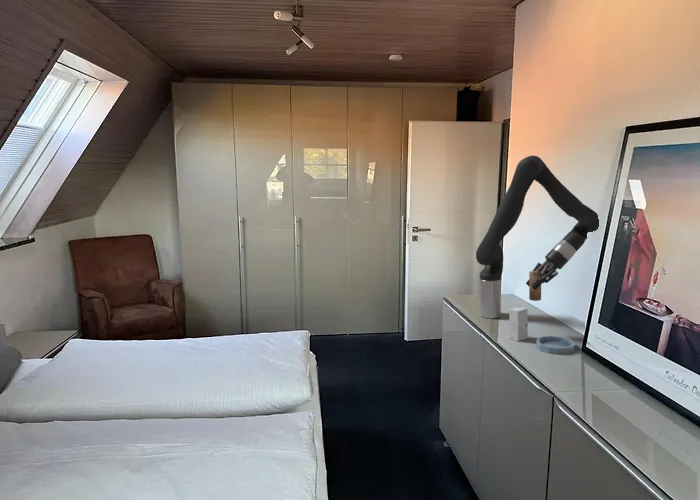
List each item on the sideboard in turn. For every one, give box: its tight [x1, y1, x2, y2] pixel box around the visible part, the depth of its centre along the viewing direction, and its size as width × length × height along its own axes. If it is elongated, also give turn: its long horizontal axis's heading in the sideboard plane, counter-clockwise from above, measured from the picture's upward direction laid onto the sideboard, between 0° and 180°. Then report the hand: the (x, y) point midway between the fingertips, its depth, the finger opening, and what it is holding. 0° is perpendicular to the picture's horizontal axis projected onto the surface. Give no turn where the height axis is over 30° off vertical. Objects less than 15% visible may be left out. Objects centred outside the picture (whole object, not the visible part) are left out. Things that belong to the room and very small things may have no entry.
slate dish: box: [535, 335, 576, 355], centre depth 182 cm, size 13×13×2 cm
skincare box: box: [508, 306, 529, 342], centre depth 192 cm, size 6×4×12 cm
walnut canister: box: [528, 270, 542, 302], centre depth 193 cm, size 4×4×11 cm
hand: (530, 286), depth 193 cm, fingers closed on walnut canister, 4 cm apart
